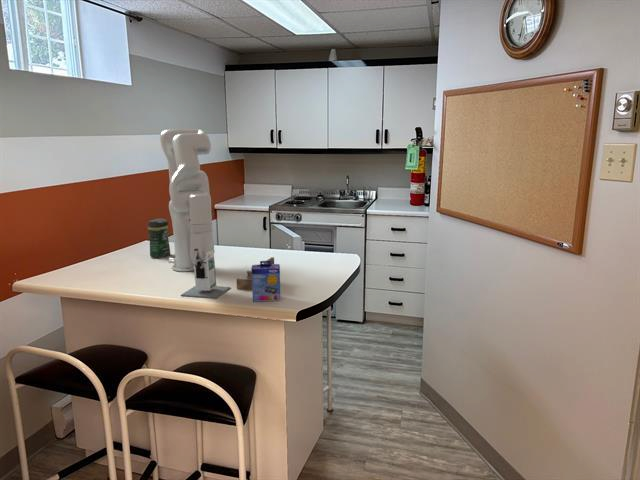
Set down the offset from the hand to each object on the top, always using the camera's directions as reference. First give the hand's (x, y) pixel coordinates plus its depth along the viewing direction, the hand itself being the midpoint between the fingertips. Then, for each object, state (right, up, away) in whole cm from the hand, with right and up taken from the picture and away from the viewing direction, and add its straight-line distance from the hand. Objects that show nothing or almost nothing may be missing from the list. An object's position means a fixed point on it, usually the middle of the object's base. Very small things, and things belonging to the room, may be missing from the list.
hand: (205, 275), depth 173 cm
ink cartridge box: (+24, -8, -7) cm, 26 cm away
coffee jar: (-35, +5, +56) cm, 67 cm away
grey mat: (0, -6, +1) cm, 6 cm away
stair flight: (+17, -5, +8) cm, 20 cm away
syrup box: (0, -5, +1) cm, 5 cm away
